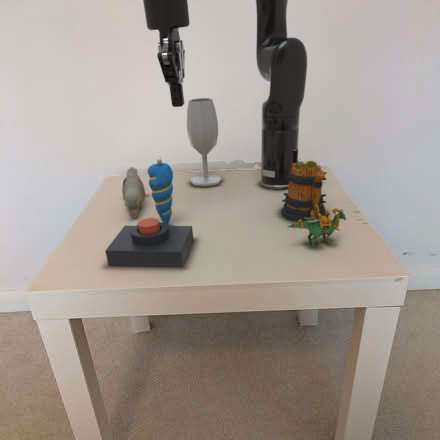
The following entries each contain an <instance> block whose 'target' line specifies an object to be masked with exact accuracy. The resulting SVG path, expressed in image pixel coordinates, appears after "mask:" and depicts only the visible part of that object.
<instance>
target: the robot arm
mask: <svg viewBox="0 0 440 440" xmlns="http://www.w3.org/2000/svg"><path fill="white" fill-rule="evenodd" d="M142 2H143V9H144V15H145V23H146V28H147V29H148V30H149V31H158V32H159V33H158V35H159V36H158V37H159V42H157V48H158V52H157V56H156V57H157V60H158V64H159V66H160V69H161V72H162V76H163V79H164V82H165V83H166V84H167V85H168V87H169V94H170V100H171V101H170V102H171V106H172V107H173V108H179V107H180V108H181V107H183V106H184V105H185V96H184V95H185V94H184V88H183V83H184V79H185V75H186V74H185V54H186V50H185V46H184V45H185V44H184V41H183V39H181V37H180V31H179V29H181V28H188V27H189V26H190V24H191V23H190V13H189V3H188V2H189V1H188V0H142ZM288 2H289V0H255V6H256V7H255V8H256V9H255V10H256V45H255V46H256V50H255V53H256V54H255V58H256V59H255V60H256V67H257V71H258V72H259V75H260V77H261V78H262V79H263V80H264V81H267V82H269V93H268V97H267V98H266V99H265V100H264V101H263V102H262V105H261V153H260V154H261V155H260V156H261V159H260V160H261V162H260V163H261V165H260V167H261V168H260V169H261V171H260V172H261V173H260V185H261V186H262V187H264V188H267V189H271V190H272V189H273V190H282V189H288V188H289V182H290V180H287V179H284V178H285V177H288V175H289V174H287V173H286V172H291V169H292V164H293V163H298V164H302V163H304V161H298V160H299V133H300V132H299V131H300V114H301V106H302V104H303V102H304V99H305V92H306V83H307V82H306V81H307V73H308V72H307V71H308V70H307V69H308V54H307V53H308V52H307V49H306V46H305V44H304V42H303V41H302V40H301V39H299V38H297V37H296V36H295V37H294V36H288V23H287V20H288V19H287V11H288V10H287V9H288Z"/></svg>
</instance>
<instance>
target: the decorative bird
mask: <svg viewBox="0 0 440 440" xmlns="http://www.w3.org/2000/svg"><path fill="white" fill-rule="evenodd" d="M121 187H122V188H121V190H122V191H121V192H122V197H123V201H124V203H125V206H126V208H127V209H128V211H129V214H130V215H131V217H133V218H134V219H136V218H137V216H138V214H139V212H140V208H141V205H142V204H143V203H144V201H145V198H146V191H145V185H144V182H143V181H142V179H141V177H140V176H139V175H138V169H137V168H136V167H133V166H131V167H129V168H128V169H127V171H126V176H125V178H123V181H122V185H121Z"/></svg>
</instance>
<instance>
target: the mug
mask: <svg viewBox="0 0 440 440" xmlns="http://www.w3.org/2000/svg"><path fill="white" fill-rule="evenodd" d="M286 173H287V174H289V175H288V177H285V178H284V179H287V180H290V182H289V188H287V192H284V193H283V195H284V196H285V198H284V199H282V200H281V202H282V203H284V204H283V206H282V208H281V216H282V217H283V218H284V219H286V220H288V221H292V222H295V223H299V222H298V221H299V220H302V222H305V221H308V220H310V219H305V218H310V217H315V216H316V215H315V214H314V212H313V211H315V209H314V205H315V204H316V205H318V207H319V213H320V214H321V216H326V212H327V211H326V208H325V204H326V203H327V201H326V200H324V198H325V197H327V194H325V193H323V191H322V189H323V188H322V187H323V181H327V177H326V175H327V173H328V172H326V171H324V170H322V166H320V165H319V164H317V162H316V161H314V160H308V161H306V162H303V163H302V164H298V163H293V164H292V169H291V172H286ZM316 210H317V208H316Z"/></svg>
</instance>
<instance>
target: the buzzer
mask: <svg viewBox="0 0 440 440" xmlns="http://www.w3.org/2000/svg"><path fill="white" fill-rule="evenodd" d="M159 224H160V231H158V232H156V233H152V234H141V233H139V230H138V225H137V224H136V225H124V226H123V227H122V229H121V230H120V231H119V232H118V234H117V235H116V236H115V237H114V239H113V240H112V241H111V243H110V244H108V246H107V248H106V249H105V251H104V252H105V256H106V260H107V264H108V266H109V267H147V268H149V267H150V268H151V267H152V268H155V267H156V268H183V267H184V265H185V262H186V260H187V258H188V255H189V253H190V250H191V248H192V245H193V243H194V229H193V225H168V226H167V225H166V224H165V223H163V222H162V221H159Z"/></svg>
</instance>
